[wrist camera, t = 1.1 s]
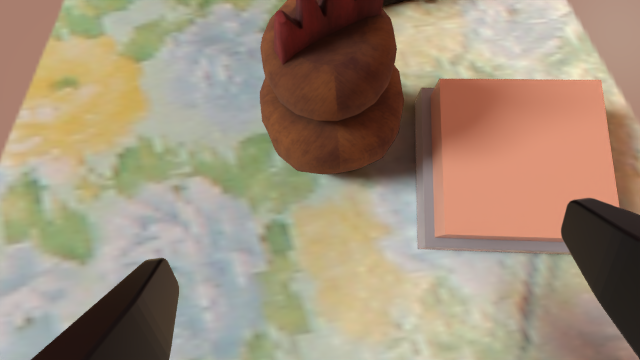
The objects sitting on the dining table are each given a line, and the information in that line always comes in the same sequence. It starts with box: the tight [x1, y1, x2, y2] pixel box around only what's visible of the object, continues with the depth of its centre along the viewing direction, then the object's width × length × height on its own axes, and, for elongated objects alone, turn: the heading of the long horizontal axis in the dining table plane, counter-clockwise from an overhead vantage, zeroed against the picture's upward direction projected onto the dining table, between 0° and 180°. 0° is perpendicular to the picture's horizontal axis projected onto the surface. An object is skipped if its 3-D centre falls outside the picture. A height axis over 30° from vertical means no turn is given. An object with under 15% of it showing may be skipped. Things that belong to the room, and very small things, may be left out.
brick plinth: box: [415, 79, 619, 254], centre depth 20 cm, size 9×9×4 cm
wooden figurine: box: [260, 0, 404, 174], centre depth 16 cm, size 7×6×15 cm
